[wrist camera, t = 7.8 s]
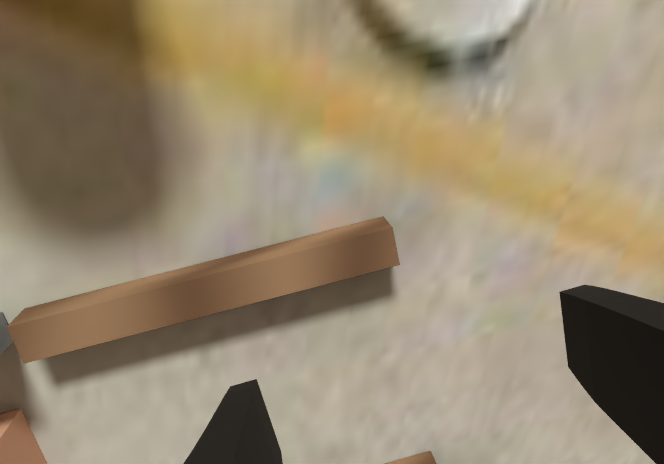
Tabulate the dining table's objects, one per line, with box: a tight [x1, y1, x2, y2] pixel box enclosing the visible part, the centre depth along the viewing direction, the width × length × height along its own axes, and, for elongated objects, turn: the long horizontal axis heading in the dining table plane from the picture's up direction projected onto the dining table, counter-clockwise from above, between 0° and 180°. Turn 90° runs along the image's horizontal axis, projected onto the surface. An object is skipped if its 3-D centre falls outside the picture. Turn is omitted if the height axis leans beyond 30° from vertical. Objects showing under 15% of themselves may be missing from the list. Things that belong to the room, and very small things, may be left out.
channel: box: [7, 217, 436, 464], centre depth 22 cm, size 14×13×2 cm
